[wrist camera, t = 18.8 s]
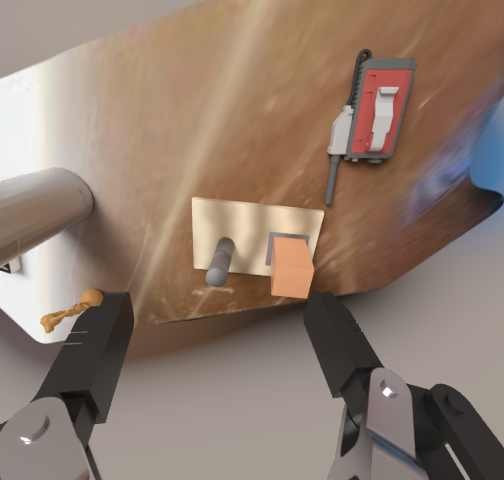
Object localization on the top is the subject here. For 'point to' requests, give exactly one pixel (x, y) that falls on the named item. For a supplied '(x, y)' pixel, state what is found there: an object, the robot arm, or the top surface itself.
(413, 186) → the top surface
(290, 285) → the tall salmon pillar
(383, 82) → the walkie-talkie
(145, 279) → the top surface
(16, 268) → the multiport hub
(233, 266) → the post stand
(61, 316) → the figurine
